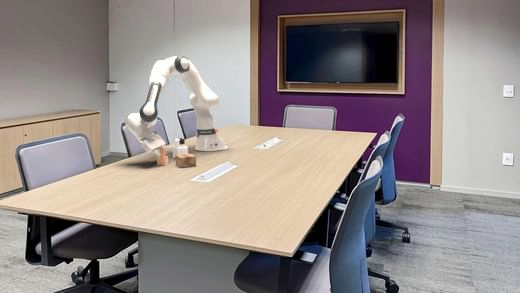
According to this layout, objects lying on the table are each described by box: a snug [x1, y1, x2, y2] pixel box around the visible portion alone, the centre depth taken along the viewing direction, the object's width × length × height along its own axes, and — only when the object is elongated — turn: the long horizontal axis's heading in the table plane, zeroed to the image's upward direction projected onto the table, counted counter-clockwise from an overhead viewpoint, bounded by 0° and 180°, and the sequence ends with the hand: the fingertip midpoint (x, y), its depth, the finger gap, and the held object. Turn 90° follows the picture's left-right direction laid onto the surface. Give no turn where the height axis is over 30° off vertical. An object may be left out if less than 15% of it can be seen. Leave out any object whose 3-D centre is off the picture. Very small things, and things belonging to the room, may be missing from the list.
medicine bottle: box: [171, 137, 189, 159], centre depth 283 cm, size 7×7×12 cm
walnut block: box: [174, 153, 197, 169], centre depth 261 cm, size 9×9×6 cm
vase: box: [156, 146, 169, 166], centre depth 265 cm, size 5×5×10 cm
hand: (163, 154), depth 264 cm, fingers open, 7 cm apart
